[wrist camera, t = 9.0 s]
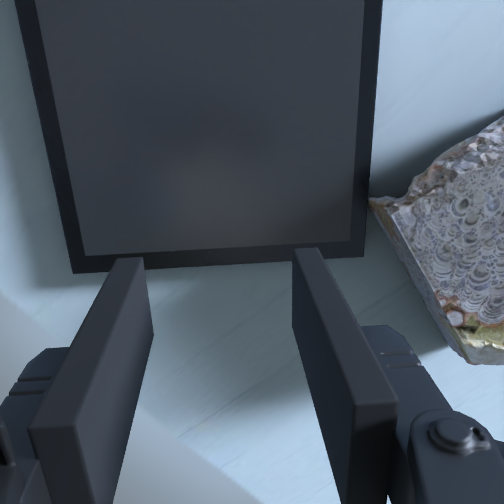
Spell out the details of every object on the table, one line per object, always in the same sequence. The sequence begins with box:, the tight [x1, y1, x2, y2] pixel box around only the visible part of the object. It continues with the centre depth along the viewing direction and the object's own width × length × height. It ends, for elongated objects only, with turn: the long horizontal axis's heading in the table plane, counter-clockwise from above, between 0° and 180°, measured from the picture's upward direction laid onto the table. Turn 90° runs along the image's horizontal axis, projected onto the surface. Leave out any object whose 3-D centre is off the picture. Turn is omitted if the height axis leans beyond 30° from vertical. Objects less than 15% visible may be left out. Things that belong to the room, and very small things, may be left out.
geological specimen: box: [368, 115, 504, 365], centre depth 26 cm, size 11×6×15 cm
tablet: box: [14, 0, 383, 274], centre depth 23 cm, size 18×24×1 cm
